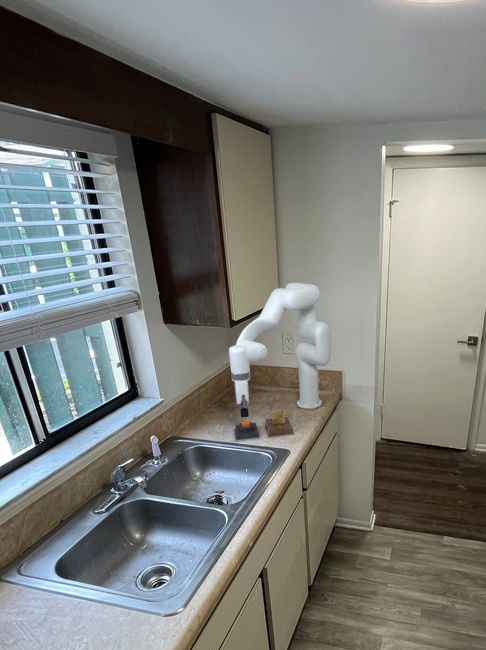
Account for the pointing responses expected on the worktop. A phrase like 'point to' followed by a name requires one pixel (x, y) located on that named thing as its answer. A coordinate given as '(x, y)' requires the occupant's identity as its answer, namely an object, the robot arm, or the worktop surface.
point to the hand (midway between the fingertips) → (244, 416)
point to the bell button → (245, 423)
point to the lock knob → (278, 418)
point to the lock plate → (278, 428)
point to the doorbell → (246, 431)
